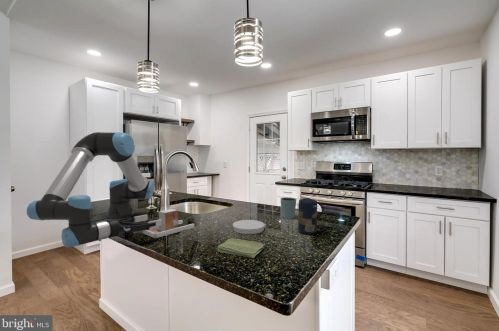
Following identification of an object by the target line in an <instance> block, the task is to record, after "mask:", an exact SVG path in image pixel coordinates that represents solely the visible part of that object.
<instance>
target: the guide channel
mask: <svg viewBox="0 0 499 331" xmlns="http://www.w3.org/2000/svg"><path fill="white" fill-rule="evenodd" d="M183 223H184V222H183V219H180V220H179V219H178V228H174V229H170V230H166V231H162V232H161V231H159V226H156V227H151V228H150V230H143V231H142V234H144V235H146V236H149V237H151V238H153V239H158V238H161V237H164V236H169V235H171V234H176V233H178V232H183V231H186V230H190V229H194V228H195V223H190V224H186V225H183V226H182V224H183ZM179 225H181V226H179ZM152 230H157V231H159V233H154V232H151V231H152Z"/></svg>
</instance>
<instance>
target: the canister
mask: <svg viewBox="0 0 499 331" xmlns="http://www.w3.org/2000/svg"><path fill="white" fill-rule="evenodd" d="M297 208H298V211H297V213H298V214H297V216H298V218H297V221H298V222H297V223H298V224H297V229H298V230H297V231H298V232H300V233H302V234H306V235H312V234H315V233H317V229H318V228H317V227H318V226H317V225H318V200H316V199H312V198H310V197H305V198H300V199H298V207H297Z"/></svg>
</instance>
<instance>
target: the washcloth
mask: <svg viewBox="0 0 499 331" xmlns="http://www.w3.org/2000/svg"><path fill="white" fill-rule="evenodd" d="M264 248H265V244H264V243H261V242H258V241H255V240H254V241H253V240H245V239H244V240H243V239H239V238H234V237H232V238H228V239H227V240H225V241H224V242H222V243H221V244H218V246H217V247H216V249H215V250H216V253H219V252H220V254H224V253H225V254H224V255H230V254H231V256H236V255H237V256H236V257H242V256H243V258H248V259H255V257H256V256H257V255H258V254H260V252H261V251H262V250H263V249H264Z"/></svg>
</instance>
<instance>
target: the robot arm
mask: <svg viewBox="0 0 499 331" xmlns="http://www.w3.org/2000/svg"><path fill="white" fill-rule="evenodd" d="M135 149H136V148H135V140H134V139H133V137H132V136H131V135H130V134H129V133H126V132H119V131H118V132H104V131H102V132H100V131H98V132H97V131H96V132H92V133H89V134H87V135H86V136H84V137H82V138H81V139H80V140H78V141H77V143H76V144H75V145H74V146H73V147H72V148H71V150H70V153H71V154H70V156H69V158H68V160H66V162H65V164H64V165H63V167H62V168H61V169H60V171H59V173H58V174H57V176H56V177H55V179H54V180H53V181H52V183H51V185H50V186H49V187H48V189H47V190H46V192H45V194H43V197H42V198H41V199H40V200H39V199H38V200H34V201H32V202H30V203H29V204H28V206H27V208H26V215H27V217H28V218H29V219H30V220H35V221H36V220H37V221H53V220H54V221H68V227H65V228H63V229H62V230H61V243H62V245H63V247H65V248H72V247H77V246H78V247H79V246H83V245H86V244H90V243H92V242H94V243H95V242H97V241H98V242H101V241H102V240H105V239H106V240H107V239H110V238H115V237H118V236H119V234H120V233H121V232H124V233H132V232H139V231H140V232H141V231H142V232H143V230H150V228H151V227H156V226H160V225H162V219H159V218H158V219H155V220H151V221H148V217H149V216H148V214H147V213H146V214H143V215H137V216H134V209H133V207H132V206H133V205H132V203H131V200H150V199H152V198H153V196H154V192H155V191H154V190H155V184H154V181H152V180H148V178H147V177H145V176H144V175H143V173H142V172H141V170H140V167H139V166H138V164H137V163H136V160H135V159H134V157H133V154H134V152H135ZM97 156H108V157H109V159H110V161H112V162H113V163H116V164H117V166H118V168H119V169H120V171H121V172H122V174H123V175H124V177H125V178H122V179H116V180H112V181H110V182H109V186H108V187H109V188H108V189H109V206H108V208H107V213H106V218H109V219H108V220H103V221H102V220H101V221H98V222H97V221H96V222H92V201H91V199H92V198H91V197H90V195H87V194H86V195H85V194H81V195H77V194H76V195H72V196H70V194H71V193H72V190H73V189H74V188H75V186H76V185H77V182H78V181H79V179H80V178H81V176H82V175H83V172H84V170H85V169H86V168H87V166H88V165H89V162H92V161H93V160H95V159H94V158H95V157H97ZM69 196H70V197H69ZM143 221H147V222H143Z"/></svg>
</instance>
